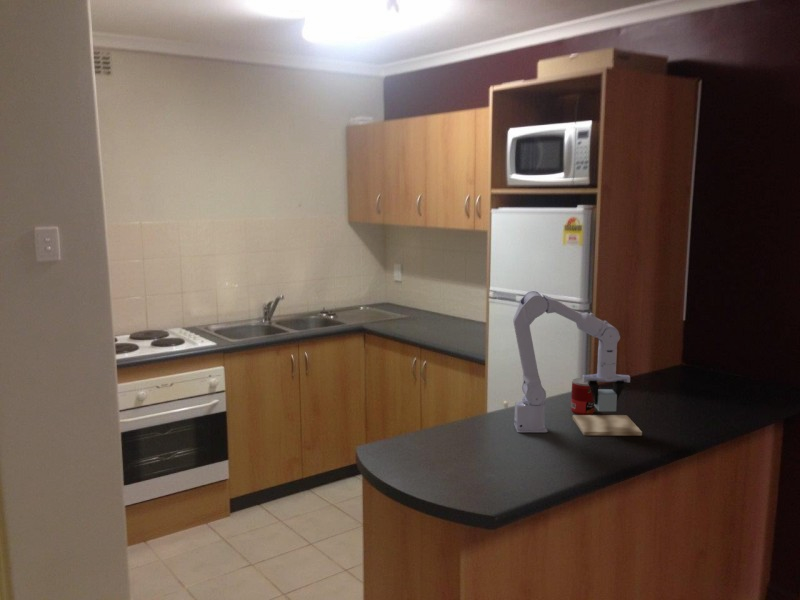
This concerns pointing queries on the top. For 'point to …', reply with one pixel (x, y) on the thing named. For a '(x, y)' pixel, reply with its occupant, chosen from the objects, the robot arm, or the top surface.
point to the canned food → (581, 398)
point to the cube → (606, 400)
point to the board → (606, 425)
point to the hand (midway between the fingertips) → (605, 403)
